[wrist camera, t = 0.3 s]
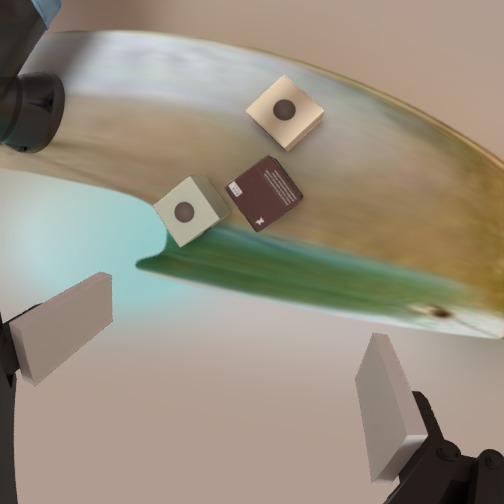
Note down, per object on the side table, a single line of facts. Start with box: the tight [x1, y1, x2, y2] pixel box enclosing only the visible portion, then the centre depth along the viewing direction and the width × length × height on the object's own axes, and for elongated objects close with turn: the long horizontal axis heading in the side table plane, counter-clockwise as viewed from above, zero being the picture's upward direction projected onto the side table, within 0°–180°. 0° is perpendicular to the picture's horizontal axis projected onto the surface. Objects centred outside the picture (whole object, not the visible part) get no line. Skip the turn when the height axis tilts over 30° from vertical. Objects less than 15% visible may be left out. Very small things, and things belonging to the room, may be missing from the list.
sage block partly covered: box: [153, 175, 232, 247], centre depth 38 cm, size 6×6×6 cm
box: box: [225, 155, 303, 232], centre depth 35 cm, size 6×6×7 cm
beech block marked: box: [246, 75, 324, 152], centre depth 34 cm, size 6×6×6 cm
